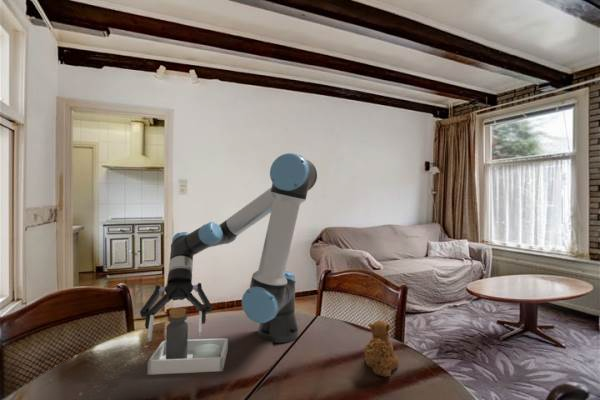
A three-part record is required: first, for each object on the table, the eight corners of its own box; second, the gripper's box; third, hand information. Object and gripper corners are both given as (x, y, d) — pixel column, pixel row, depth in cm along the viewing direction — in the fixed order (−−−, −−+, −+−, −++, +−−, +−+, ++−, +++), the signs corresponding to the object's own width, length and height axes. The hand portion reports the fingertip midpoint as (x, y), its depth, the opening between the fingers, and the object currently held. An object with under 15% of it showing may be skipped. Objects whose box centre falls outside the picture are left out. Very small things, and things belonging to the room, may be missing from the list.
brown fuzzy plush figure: (398, 360, 96) (399, 318, 96) (398, 385, 82) (399, 336, 83) (366, 355, 99) (366, 313, 99) (360, 378, 85) (361, 330, 86)
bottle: (179, 367, 87) (181, 314, 88) (161, 365, 89) (162, 312, 89) (190, 357, 93) (192, 307, 93) (173, 355, 94) (174, 306, 95)
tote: (227, 352, 99) (228, 338, 99) (222, 374, 86) (223, 358, 86) (162, 355, 96) (162, 340, 97) (147, 378, 84) (147, 361, 84)
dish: (218, 352, 97) (218, 342, 97) (222, 363, 90) (222, 353, 90) (191, 356, 94) (191, 346, 94) (193, 368, 87) (193, 357, 87)
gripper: (218, 277, 109) (219, 337, 95) (140, 281, 102) (128, 346, 88) (219, 265, 105) (220, 326, 90) (137, 268, 97) (124, 335, 83)
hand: (175, 336), depth 89 cm, fingers open, 13 cm apart
